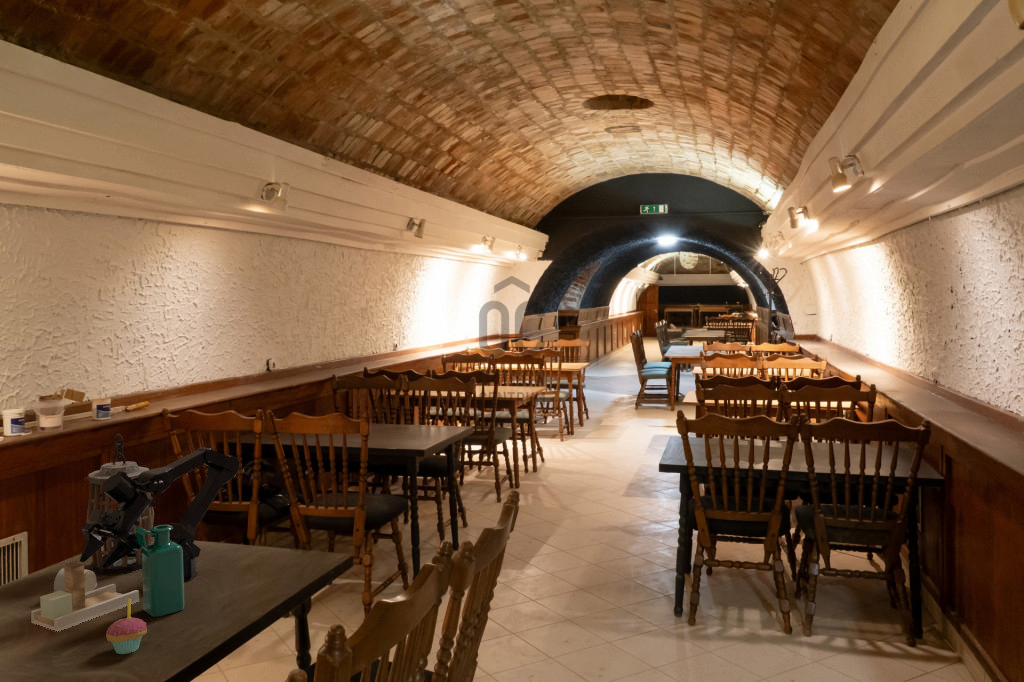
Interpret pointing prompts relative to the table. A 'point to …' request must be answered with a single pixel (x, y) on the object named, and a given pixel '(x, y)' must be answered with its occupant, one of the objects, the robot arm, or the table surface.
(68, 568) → the wooden stair steps
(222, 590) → the table surface
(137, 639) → the cupcake
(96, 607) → the lane board
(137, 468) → the lantern
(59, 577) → the ceramic mug
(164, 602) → the green bottle
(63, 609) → the block
